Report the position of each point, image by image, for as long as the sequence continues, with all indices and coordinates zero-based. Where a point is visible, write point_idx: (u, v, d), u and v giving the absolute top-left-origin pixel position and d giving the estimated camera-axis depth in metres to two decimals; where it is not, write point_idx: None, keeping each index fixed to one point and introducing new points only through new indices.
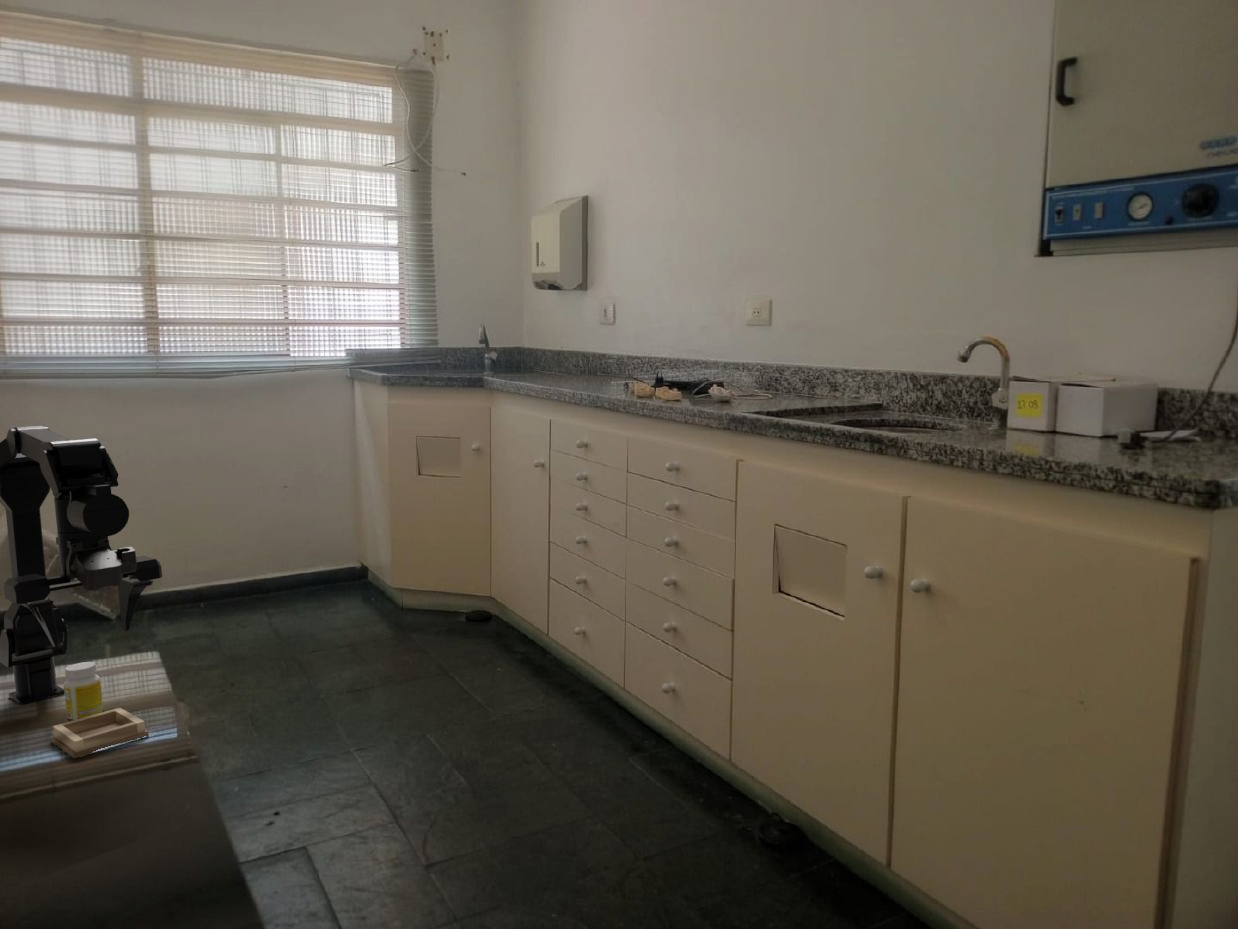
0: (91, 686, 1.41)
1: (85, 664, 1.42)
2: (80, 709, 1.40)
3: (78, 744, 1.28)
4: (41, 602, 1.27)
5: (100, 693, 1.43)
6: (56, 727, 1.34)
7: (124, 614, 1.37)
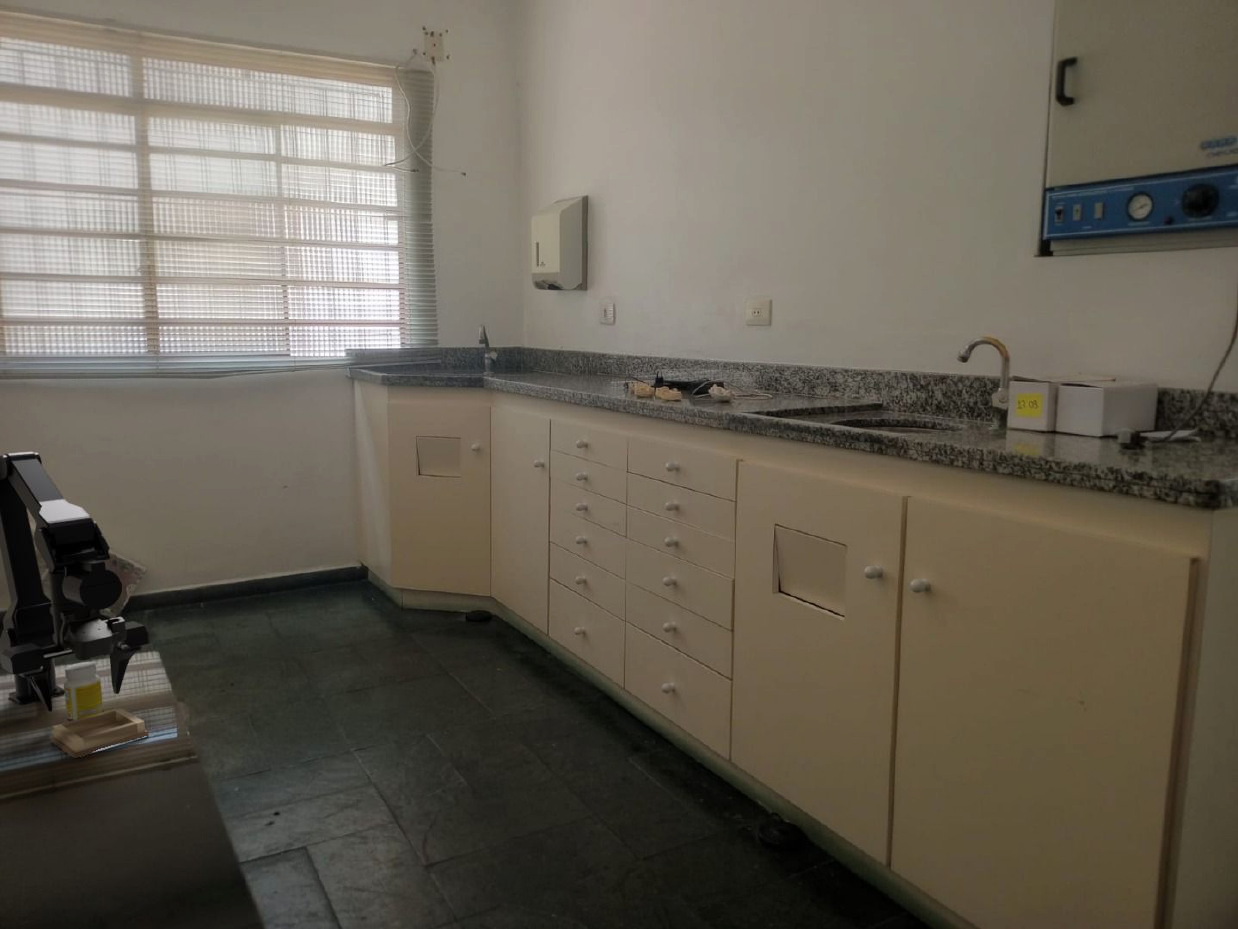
0: (91, 686, 1.41)
1: (85, 664, 1.42)
2: (80, 709, 1.40)
3: (78, 744, 1.28)
4: (36, 671, 1.35)
5: (100, 693, 1.43)
6: (56, 727, 1.34)
7: (114, 678, 1.45)
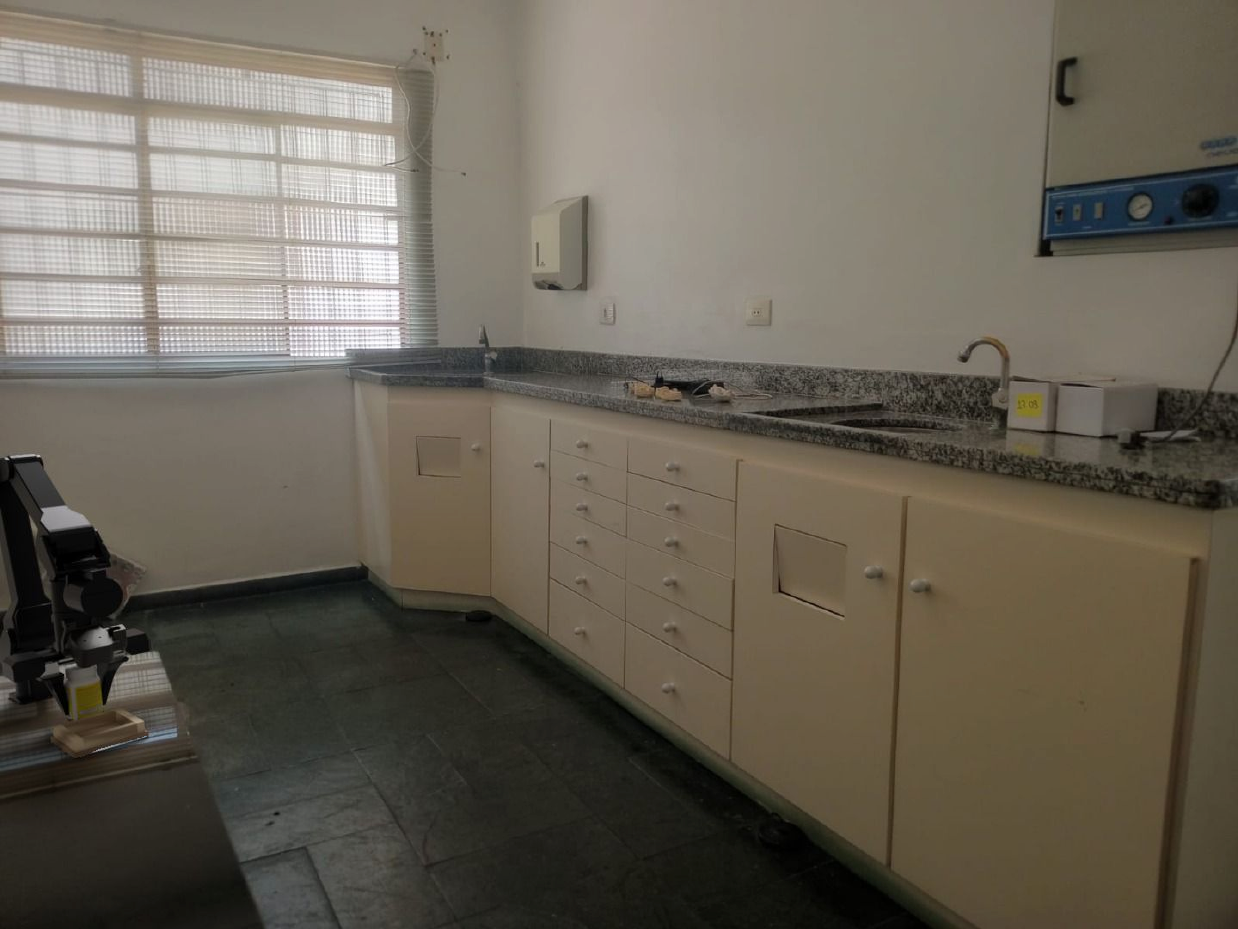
0: (91, 686, 1.41)
1: None
2: (80, 709, 1.40)
3: (78, 744, 1.28)
4: (53, 675, 1.37)
5: (100, 693, 1.43)
6: (56, 727, 1.34)
7: (101, 689, 1.44)
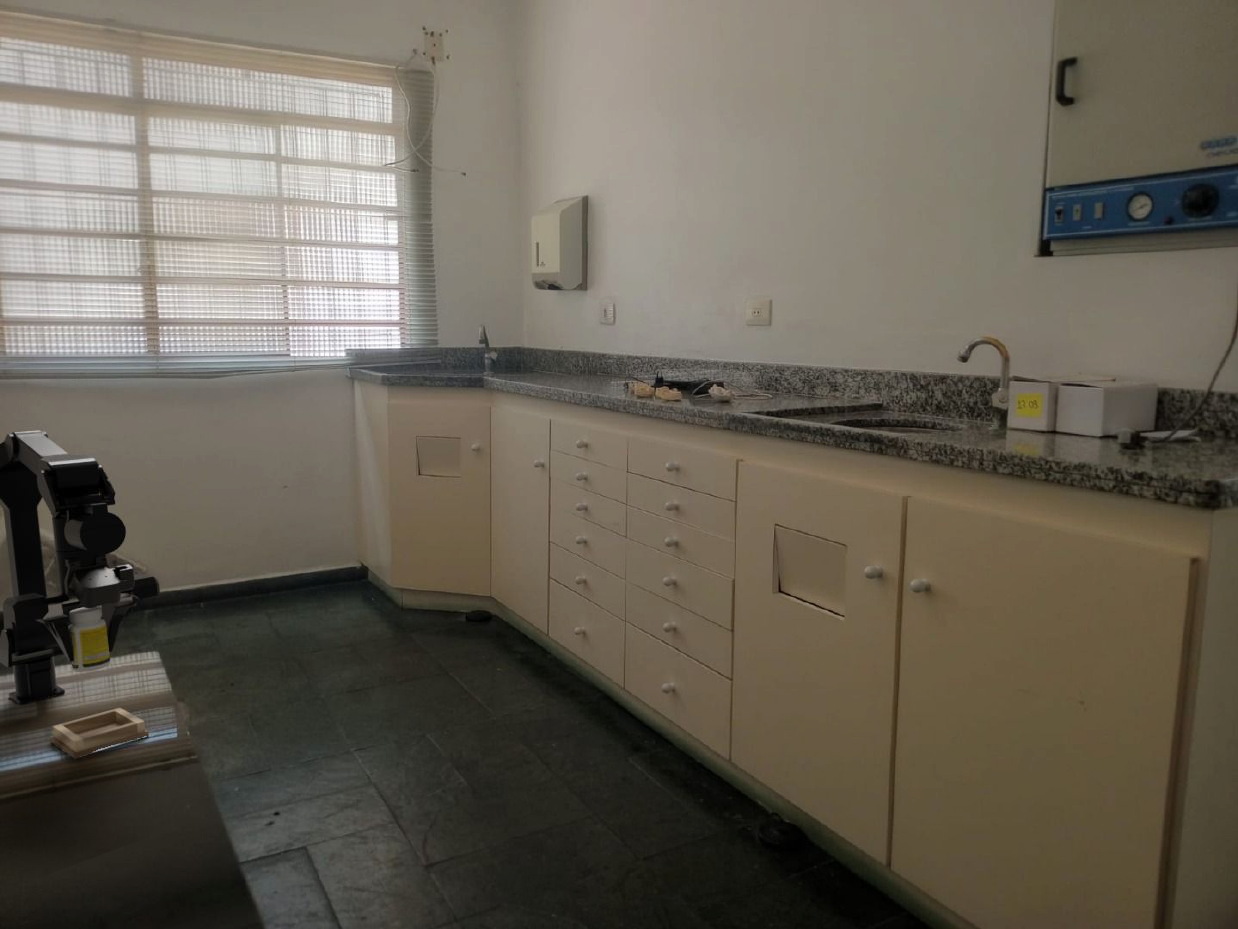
0: (97, 630, 1.33)
1: (90, 608, 1.35)
2: (85, 654, 1.33)
3: (78, 744, 1.28)
4: (57, 617, 1.29)
5: (106, 638, 1.35)
6: (56, 727, 1.34)
7: (107, 635, 1.36)
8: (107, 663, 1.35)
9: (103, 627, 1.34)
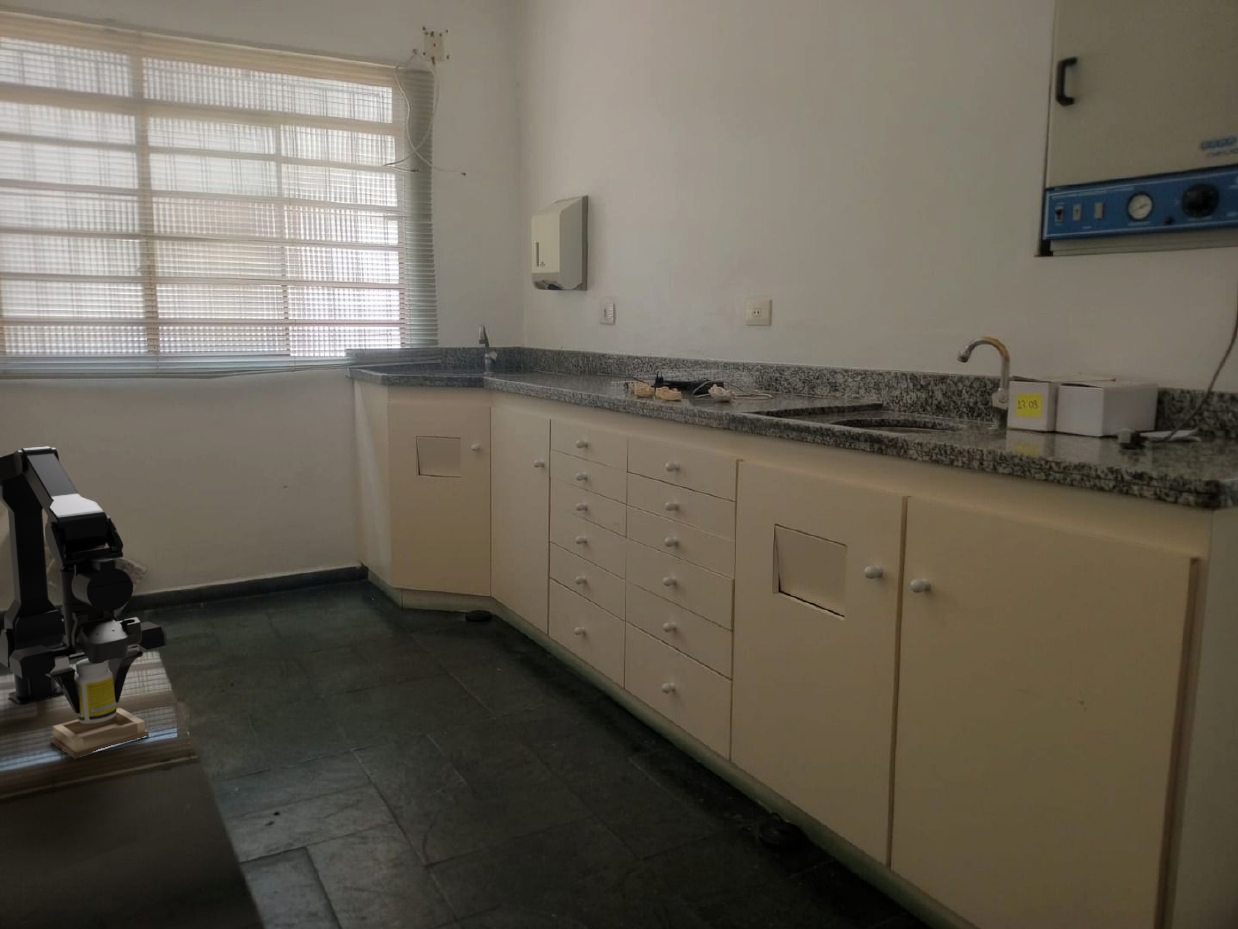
0: (103, 682, 1.33)
1: None
2: (92, 706, 1.32)
3: (78, 744, 1.28)
4: (63, 671, 1.29)
5: (113, 689, 1.34)
6: (56, 727, 1.34)
7: (114, 686, 1.36)
8: (113, 714, 1.34)
9: (110, 679, 1.34)
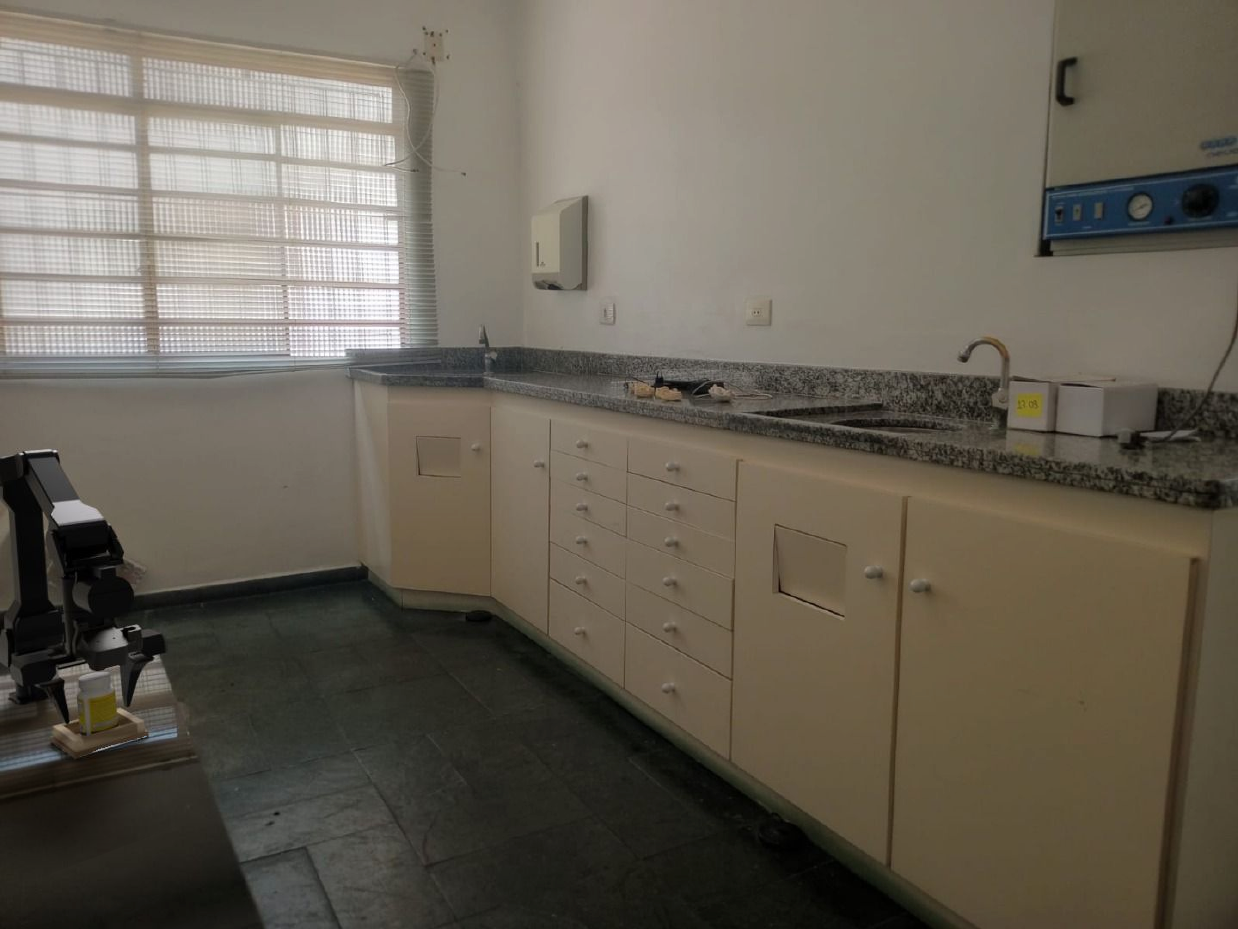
0: (105, 698, 1.33)
1: (99, 674, 1.35)
2: (94, 722, 1.32)
3: (78, 744, 1.28)
4: (53, 681, 1.28)
5: (115, 705, 1.35)
6: (56, 727, 1.34)
7: (125, 690, 1.37)
8: None
9: (112, 694, 1.34)
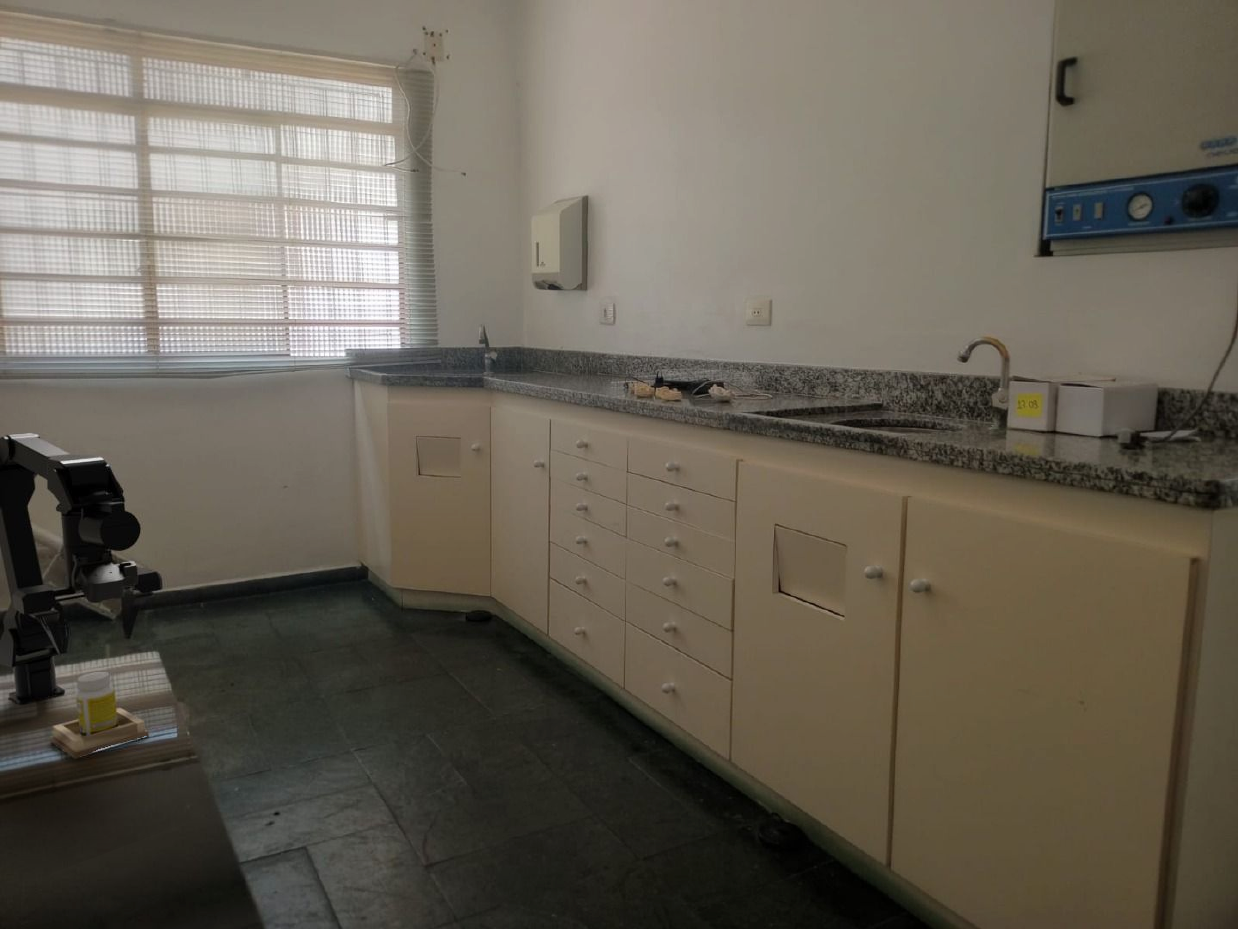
0: (104, 698, 1.33)
1: (98, 674, 1.34)
2: (93, 722, 1.32)
3: (78, 744, 1.28)
4: (47, 612, 1.34)
5: (114, 705, 1.35)
6: (56, 727, 1.34)
7: (126, 623, 1.44)
8: None
9: (111, 694, 1.34)
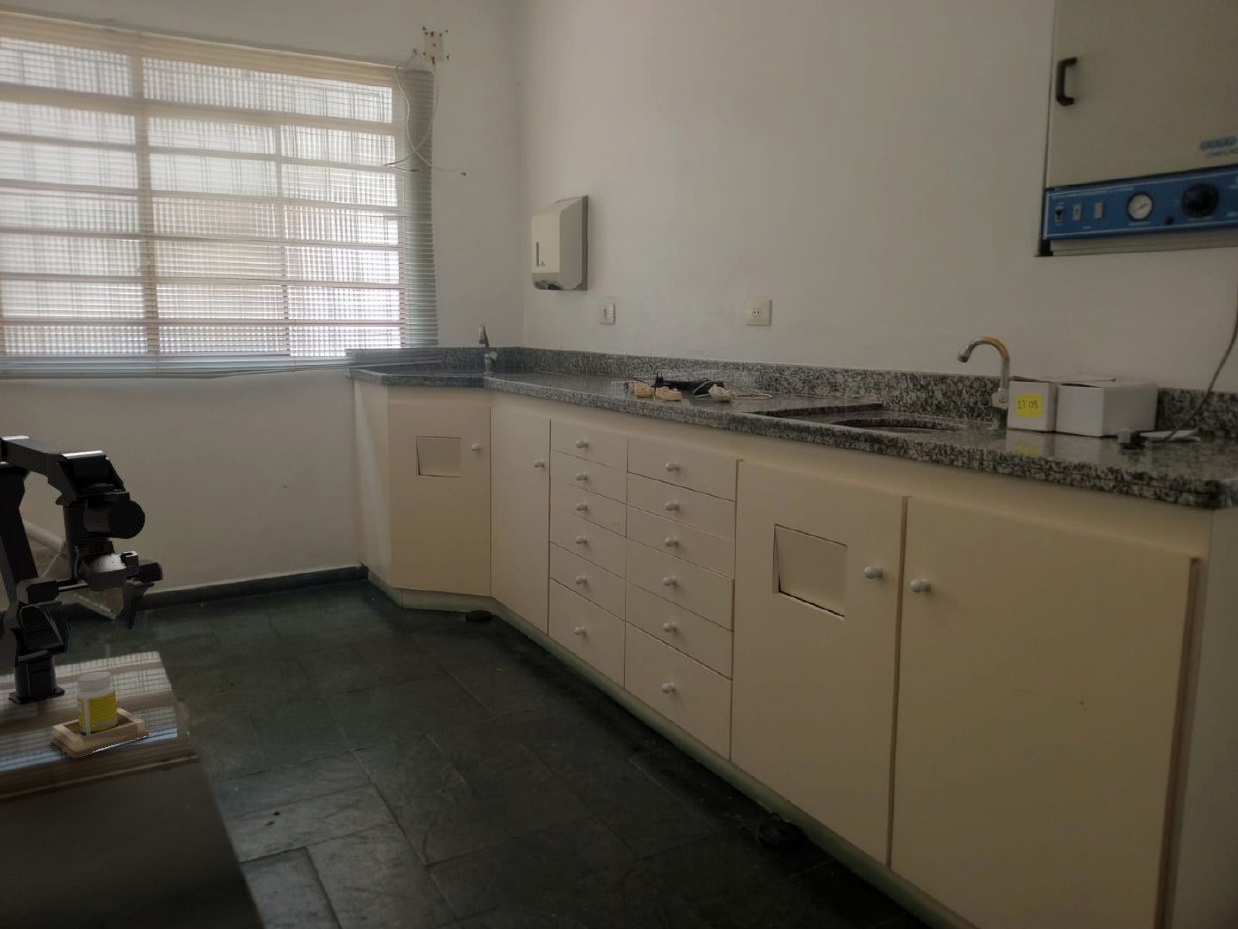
0: (105, 697, 1.33)
1: (100, 674, 1.35)
2: (93, 722, 1.32)
3: (78, 744, 1.28)
4: (51, 602, 1.37)
5: (114, 705, 1.35)
6: (56, 727, 1.34)
7: (127, 614, 1.47)
8: None
9: (111, 694, 1.34)
